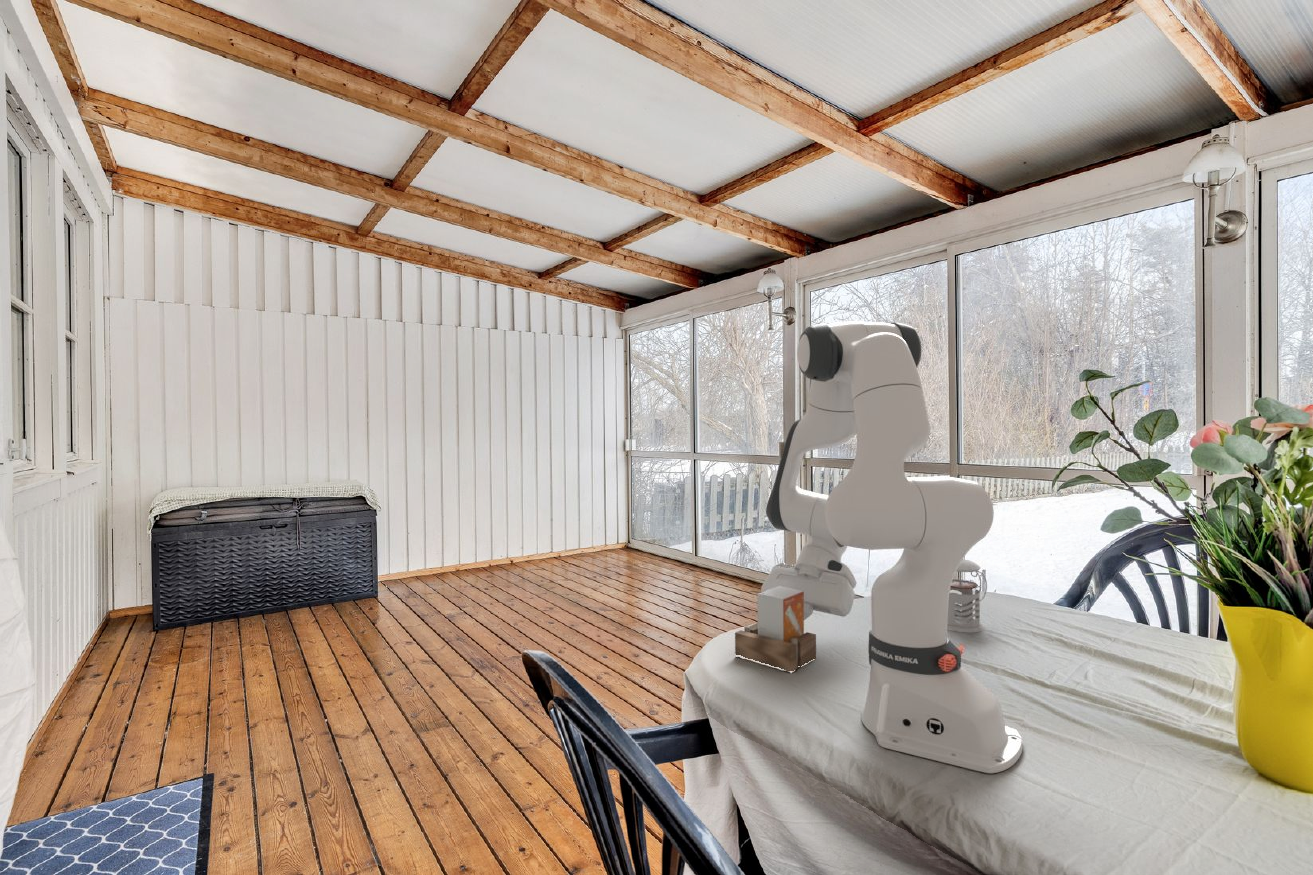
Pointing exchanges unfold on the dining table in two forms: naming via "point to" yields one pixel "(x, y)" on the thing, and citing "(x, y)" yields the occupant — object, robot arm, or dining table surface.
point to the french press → (965, 601)
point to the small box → (781, 613)
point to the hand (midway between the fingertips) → (793, 623)
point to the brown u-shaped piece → (775, 648)
